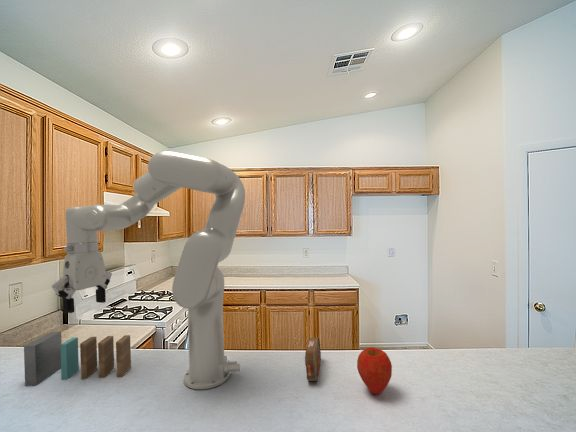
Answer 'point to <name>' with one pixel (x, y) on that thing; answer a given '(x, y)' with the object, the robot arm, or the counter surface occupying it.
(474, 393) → the counter surface
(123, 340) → the domino
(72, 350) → the domino
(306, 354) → the tin
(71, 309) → the robot arm
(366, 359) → the apple
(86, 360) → the domino
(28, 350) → the block
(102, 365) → the domino
